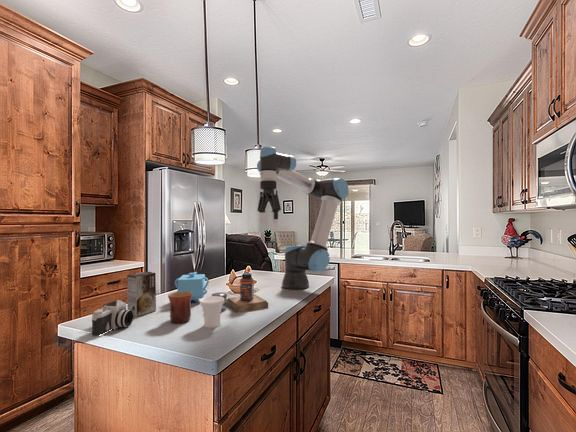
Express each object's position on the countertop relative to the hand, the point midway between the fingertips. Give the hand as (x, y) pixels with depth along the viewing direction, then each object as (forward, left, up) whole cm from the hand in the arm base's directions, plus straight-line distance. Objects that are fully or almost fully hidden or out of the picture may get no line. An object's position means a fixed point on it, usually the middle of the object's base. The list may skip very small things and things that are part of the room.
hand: (268, 226), depth 145 cm
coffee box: (+53, -10, -35) cm, 64 cm away
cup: (+32, +20, -35) cm, 51 cm away
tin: (+24, +2, -35) cm, 42 cm away
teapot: (+30, -22, -35) cm, 51 cm away
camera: (+63, +6, -35) cm, 72 cm away
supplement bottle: (+12, +3, -32) cm, 34 cm away
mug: (+41, +7, -35) cm, 54 cm away
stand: (+12, +3, -35) cm, 37 cm away
